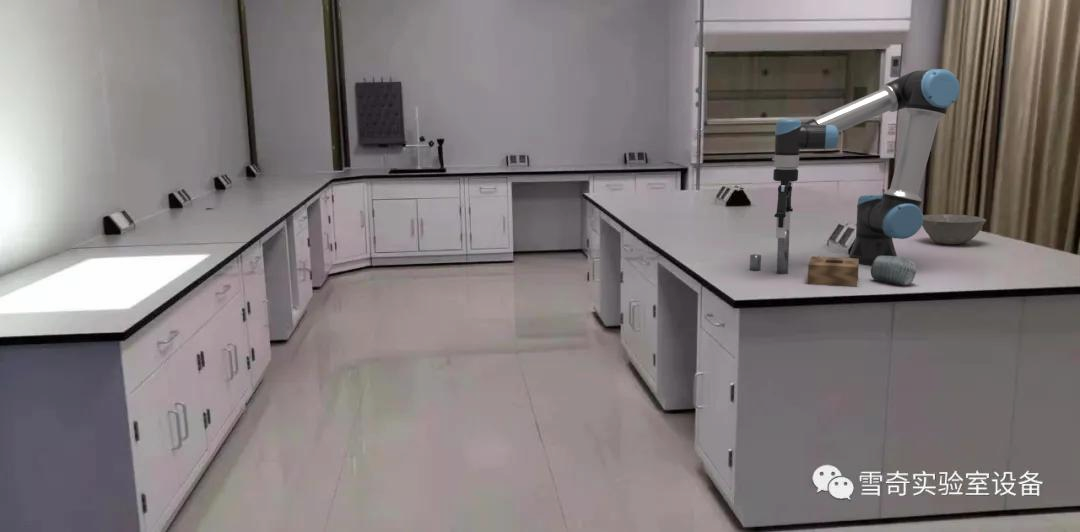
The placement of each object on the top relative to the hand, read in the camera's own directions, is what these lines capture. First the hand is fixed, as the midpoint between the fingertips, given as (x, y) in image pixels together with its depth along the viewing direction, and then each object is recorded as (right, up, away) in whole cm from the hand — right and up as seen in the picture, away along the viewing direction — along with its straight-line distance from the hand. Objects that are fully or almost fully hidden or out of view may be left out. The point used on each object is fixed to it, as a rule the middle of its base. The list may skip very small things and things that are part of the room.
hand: (782, 234), depth 263 cm
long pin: (+1, -12, +2) cm, 13 cm away
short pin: (-7, -11, +9) cm, 16 cm away
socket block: (+13, -15, -10) cm, 22 cm away
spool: (+29, -15, -14) cm, 36 cm away
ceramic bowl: (+79, -2, +49) cm, 93 cm away
